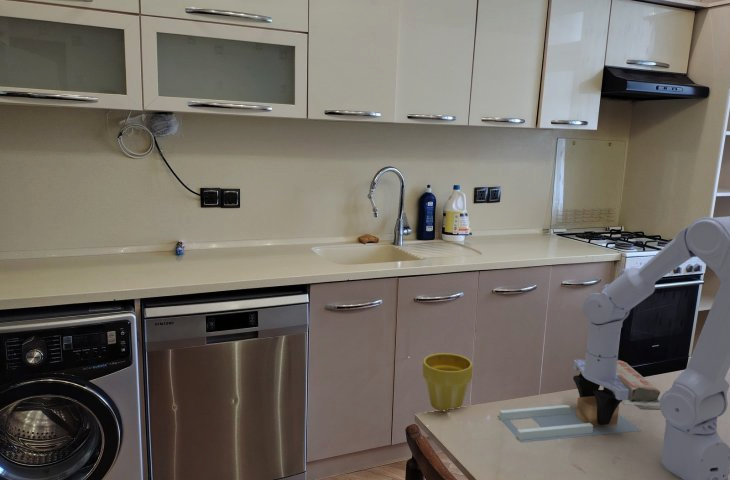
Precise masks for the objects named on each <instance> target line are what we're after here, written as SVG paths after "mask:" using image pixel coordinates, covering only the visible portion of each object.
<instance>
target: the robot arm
mask: <svg viewBox="0 0 730 480" xmlns="http://www.w3.org/2000/svg"><path fill="white" fill-rule="evenodd" d="M692 258H698V259H699V260H700V261H702V262H703V263H704V264H705V266H707V267H708V268H709V269H711V270H712V272H714V273H715V275H716V277H717V278H718V279H719V281H720V284H719V287H718V289H717V292H716V294H715V297H714V300H713V302H712V304H711V307H710V309H709V311H708V314H707V316H706V319H705V322H704V324H703V327H702V329H701V332H700V334H699V337H698V339H697V342H696V344H695V347H694V348H693V352H692V354H691V357H690V359H689V361H688V364H687V367H686V368H685V369H684V370H683V371H682V372H681V373H680V374H679V375H678V376H677V377H676V378H675V380H674V381H673V383H672V385H671V387H670V388H669V389H668V390H666V391H664V392H663V394H661V396H660V397H659V398H660V409H659V410H660V412H661V415H662V416H663V418H664V420H665V427H664V428H665V429H664V434H663V435H664V436H663V442H662V443H663V444H662V451H661V460H660V462H661V465H662V466H663V467H664V469H666V470H667V471H669V472H670V473H672V474H673V475H675V476H677V477H679V478H681V480H729V475H730V446H729V445H728V444H727V443H726V442H725V441H724V440H723V439H722V438H721V437H720V436H719V434H718V431H717V426H718V418H719V417H721V416H723V415H724V414H725V413H726V411H727V409H728V404H729V402H728V391H729V388H730V384H729V382H728V381H727V380H726V376H727V374H728V372H729V370H730V215H729V216H728V215H727V216H718V217H712V216H705V217H700V218H697V219H695V220H693V222H691V224H690V225H689V226H687V227H685V228H682V229H681V230H679V232H678V233H677V234H676V235H675V236H674V238H673V239H672V240H670V241H669V242H668V243H667V244H666V245H665V246H663V248H661V249H660V250H659V251H658V252H657V253H656V254H655V255H653V257H651V258H650V259H649V260H647V262H646V263H645V264H643V265H642V266H641V267H640V268H639V267H629V268H623V269H621V270H620V271H619V272H618V274H619V276H618V277H617V278H615V279H614V280H613V281H612V282H611V283H608V284H604V285H603V286H602V288H601V289H602V290H601V292H591V293H589V294H588V295H587V297H586V298H585V300H584V301H583V307H582V308H583V313H584V315H585V317H586V318H587V320H588V323H587V324H588V325H587V336H586V346H585V347H586V348H585V356H584V357H585V358H584V359H574V360H573V370H574V371H579V374H578V375H573V378H572V379H573V381H574V383H575V386H576V388H577V392H578V397H590V396H595V398H596V403H597V422H598V424H599V425H609V423H610V420H611V418H612V416H613V413H614V411H615V410H616V408H617V406H618V405H619V406H620V404H621V403H622V402H621V401H622V400H626V399H628V394H629V389H627V388H626V387H625V386H624V385H623V384H622V383H621V381H620V380H619V379H618V378H620V374H619V373H617V372H616V369H617V360H619V349H620V347H619V346H620V340H621V329H622V328H623V322H624V321H625V320H626V319H627V318H628V317H629V315H630V312H631V310H632V309H633V308H634V307H636V306H637V305H638V304H640V303H641V302H643V301H644V300H645V299H647V298H648V297H650V296H651V295H653V293H654V292H655V291H656V282H658V281H659V280H660V279H662V278H663V277H665V276H667V275H668V274H670V272H672V271H674V270H676V269H677V268H679V267H680V266H681V265H684V263H686V262H688V261H689V260H690V259H692ZM600 387H603V389H600Z"/></svg>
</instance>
